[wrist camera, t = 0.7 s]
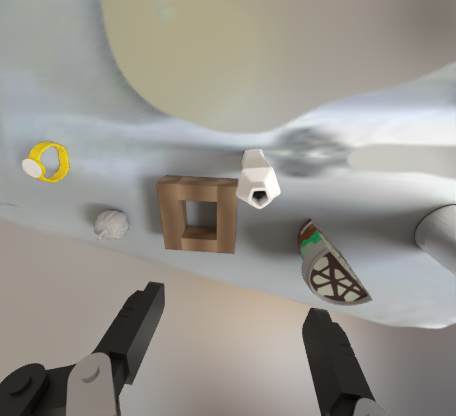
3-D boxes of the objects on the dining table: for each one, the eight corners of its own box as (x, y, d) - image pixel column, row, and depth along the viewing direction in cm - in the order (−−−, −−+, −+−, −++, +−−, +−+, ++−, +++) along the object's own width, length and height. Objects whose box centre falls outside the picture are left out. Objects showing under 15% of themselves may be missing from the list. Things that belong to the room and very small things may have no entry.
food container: (276, 232, 37) (286, 272, 28) (305, 212, 35) (326, 248, 26) (315, 272, 40) (335, 319, 31) (344, 256, 38) (374, 302, 29)
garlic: (117, 235, 40) (100, 252, 35) (97, 214, 38) (77, 228, 33) (140, 224, 38) (125, 240, 34) (121, 200, 37) (103, 214, 32)
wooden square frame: (238, 178, 33) (237, 187, 29) (235, 240, 38) (234, 253, 35) (165, 175, 34) (156, 183, 30) (172, 236, 39) (165, 249, 35)
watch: (76, 176, 35) (46, 190, 30) (60, 172, 35) (27, 186, 30) (70, 141, 32) (36, 151, 27) (52, 137, 32) (15, 146, 27)
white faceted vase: (233, 152, 31) (224, 184, 18) (260, 141, 30) (273, 165, 17) (244, 179, 33) (243, 226, 20) (270, 169, 32) (288, 212, 19)
